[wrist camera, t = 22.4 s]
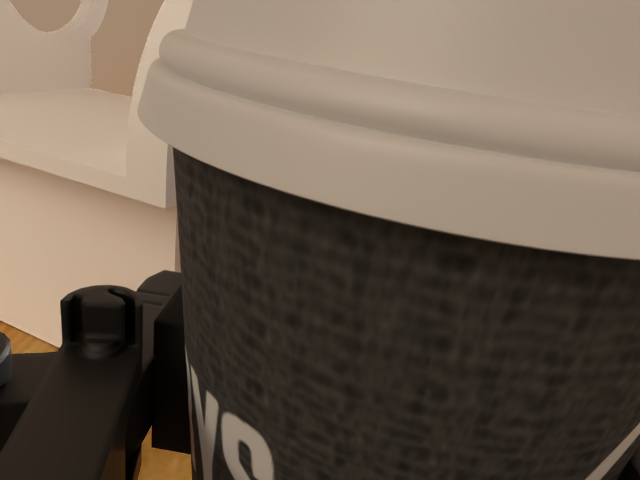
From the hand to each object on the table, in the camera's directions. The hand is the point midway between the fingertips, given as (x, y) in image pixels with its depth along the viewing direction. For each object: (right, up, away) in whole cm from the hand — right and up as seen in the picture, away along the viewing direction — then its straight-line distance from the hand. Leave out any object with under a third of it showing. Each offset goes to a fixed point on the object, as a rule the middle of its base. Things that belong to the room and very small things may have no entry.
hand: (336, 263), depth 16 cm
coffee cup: (0, -10, -2) cm, 10 cm away
